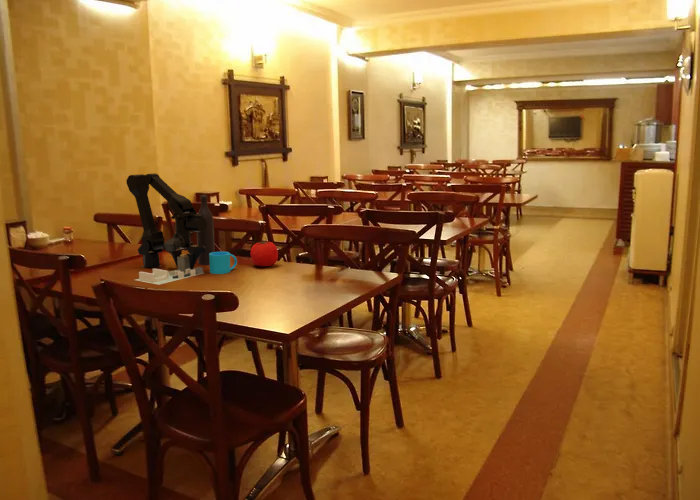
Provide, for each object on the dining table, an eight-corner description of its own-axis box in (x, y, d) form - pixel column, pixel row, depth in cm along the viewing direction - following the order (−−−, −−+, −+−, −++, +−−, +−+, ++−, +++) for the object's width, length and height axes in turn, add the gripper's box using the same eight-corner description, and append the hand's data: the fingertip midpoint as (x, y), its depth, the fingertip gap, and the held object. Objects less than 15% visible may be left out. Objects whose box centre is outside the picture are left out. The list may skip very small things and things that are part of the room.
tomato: (275, 262, 261) (275, 237, 259) (281, 268, 250) (280, 242, 248) (248, 264, 257) (247, 239, 255) (252, 270, 247) (251, 243, 245)
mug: (216, 276, 235) (215, 256, 233) (206, 273, 241) (205, 253, 239) (242, 272, 243) (241, 252, 242) (231, 268, 249) (231, 249, 247)
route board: (133, 281, 226) (133, 279, 226) (180, 270, 245) (180, 268, 245) (158, 286, 219) (158, 284, 219) (204, 274, 238) (204, 273, 238)
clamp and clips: (173, 277, 230) (172, 271, 229) (196, 272, 240) (196, 266, 239) (181, 279, 228) (180, 273, 227) (204, 273, 238) (203, 267, 237)
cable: (172, 278, 228) (171, 276, 228) (192, 273, 237) (192, 271, 237) (176, 279, 227) (176, 277, 227) (196, 274, 236) (196, 272, 236)
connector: (177, 271, 241) (177, 254, 240) (185, 269, 244) (184, 253, 243) (184, 272, 239) (184, 255, 238) (192, 270, 242) (191, 254, 241)
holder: (138, 279, 227) (138, 271, 226) (154, 275, 233) (153, 268, 232) (154, 282, 222) (153, 274, 222) (169, 278, 228) (168, 271, 228)
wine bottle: (217, 265, 256) (214, 195, 250) (201, 267, 252) (198, 196, 246) (211, 262, 261) (208, 194, 256) (195, 264, 258) (192, 195, 252)
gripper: (151, 231, 237) (153, 269, 240) (184, 235, 227) (186, 274, 230) (172, 227, 246) (174, 264, 249) (205, 231, 236) (207, 269, 239)
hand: (184, 268), depth 242 cm, fingers open, 7 cm apart
